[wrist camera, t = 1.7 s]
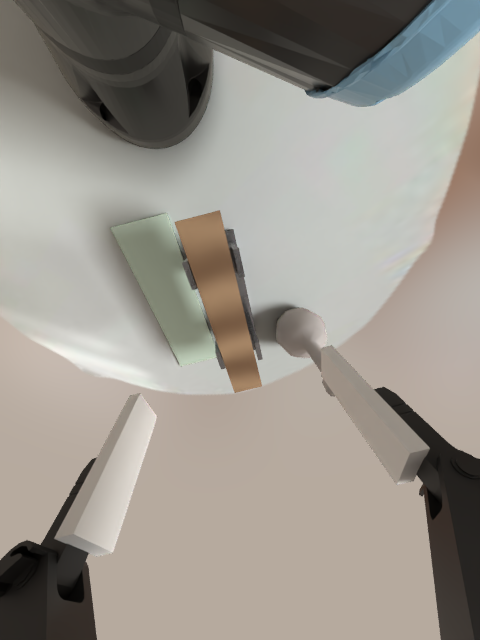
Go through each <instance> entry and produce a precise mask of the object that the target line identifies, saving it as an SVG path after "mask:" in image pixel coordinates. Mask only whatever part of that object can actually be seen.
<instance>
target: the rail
mask: <svg viewBox="0 0 480 640" xmlns="http://www.w3.org/2000/svg"><path fill="white" fill-rule="evenodd" d="M175 225H176V227H177V230H178V233H179V236H180V239H181V242H182V244H183V247H184V250H185V253H186V256H187V259H188V262H189V264H190V267H191V270H192V273H193V276H194V279H195V281H196V284H197V287H198V290H199V293H200V296H201V298H202V301H203V304H204V307H205V310H206V313H207V315H208V318H209V321H210V324H211V327H212V330H213V332H214V335H215V338H216V341H217V344H218V347H219V349H220V352H221V355H222V358H223V361H224V364H225V366H226V369H227V372H228V375H229V378H230V381H231V383H232V386H233V389H234V392H235V393H236V392H240V391H244V390H248V389H253V388H257V387H261V386H262V384H261V380H260V376H259V372H258V368H257V363H256V359H255V355H254V351H253V347H252V343H251V338H250V334H249V330H248V326H247V322H246V318H245V313H244V309H243V305H242V301H241V297H240V293H239V288H238V284H237V280H236V276H235V272H234V268H233V263H232V259H231V255H230V251H229V247H228V243H227V238H226V234H225V230H224V226H223V222H222V218H221V213H220V210H219V211H215V212H212V213H208V214H204V215H200V216H196V217H192V218H189V219H185V220H181V221H177V222H175Z"/></svg>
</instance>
